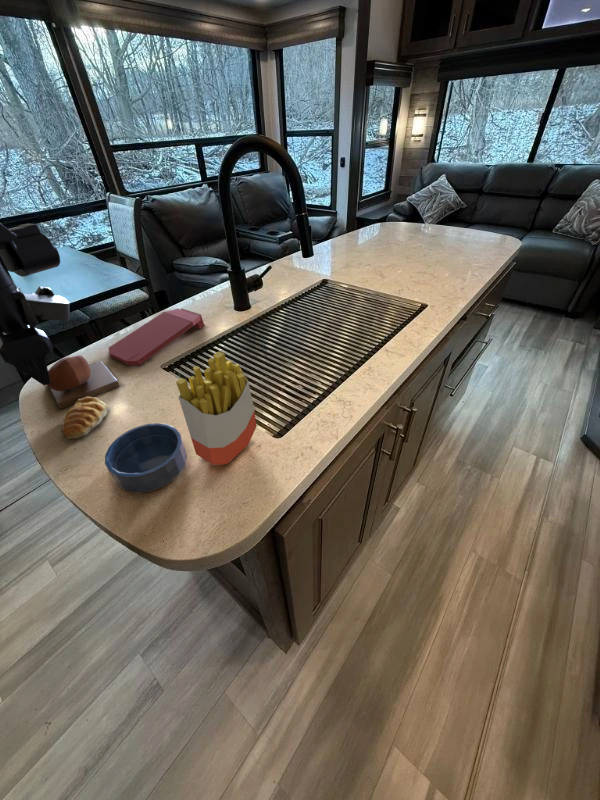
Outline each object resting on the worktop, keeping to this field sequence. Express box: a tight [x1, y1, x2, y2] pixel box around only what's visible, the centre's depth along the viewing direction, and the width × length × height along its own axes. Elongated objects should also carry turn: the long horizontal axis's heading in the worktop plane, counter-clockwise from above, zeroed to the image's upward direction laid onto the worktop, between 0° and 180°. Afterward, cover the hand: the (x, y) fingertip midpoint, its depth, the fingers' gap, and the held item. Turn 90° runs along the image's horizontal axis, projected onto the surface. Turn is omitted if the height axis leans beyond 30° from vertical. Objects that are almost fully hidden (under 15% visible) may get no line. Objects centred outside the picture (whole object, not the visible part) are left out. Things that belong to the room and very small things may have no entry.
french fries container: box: [175, 350, 258, 466], centre depth 54 cm, size 5×11×18 cm, turn 146°
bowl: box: [104, 422, 188, 494], centre depth 56 cm, size 12×12×4 cm
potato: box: [46, 354, 91, 391], centre depth 71 cm, size 7×9×6 cm
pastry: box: [62, 396, 109, 440], centre depth 64 cm, size 9×7×4 cm
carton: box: [108, 308, 206, 366], centre depth 92 cm, size 12×5×25 cm
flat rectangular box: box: [49, 359, 120, 409], centre depth 76 cm, size 12×12×2 cm
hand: (41, 373), depth 59 cm, fingers open, 9 cm apart
